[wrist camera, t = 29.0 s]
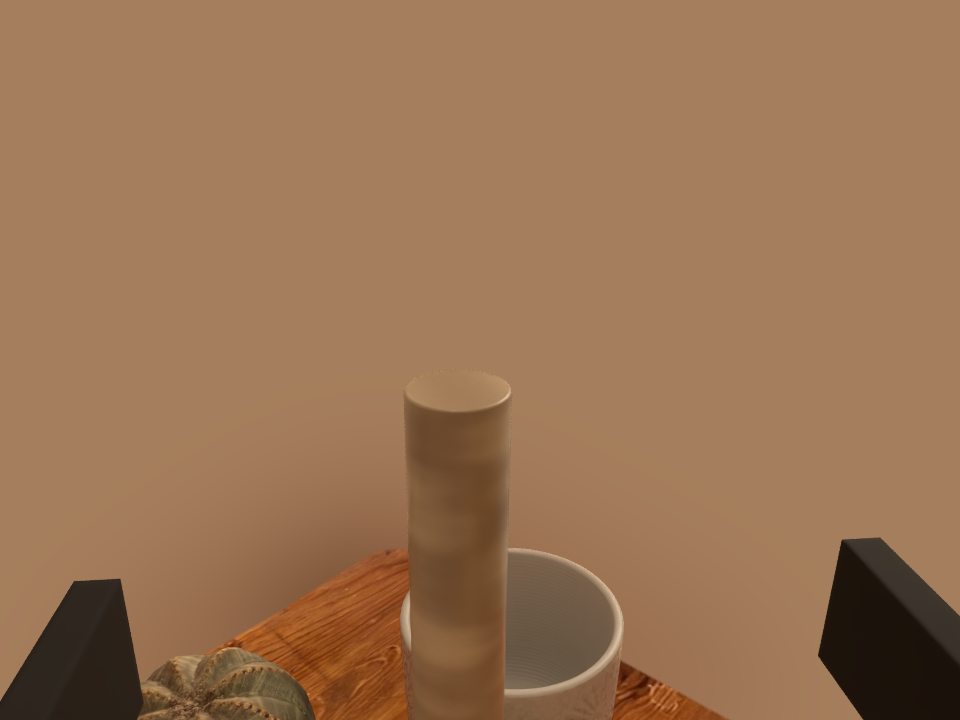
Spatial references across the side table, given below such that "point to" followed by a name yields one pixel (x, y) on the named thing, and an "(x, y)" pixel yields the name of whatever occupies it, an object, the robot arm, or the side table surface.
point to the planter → (551, 641)
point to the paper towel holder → (458, 541)
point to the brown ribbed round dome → (223, 689)
